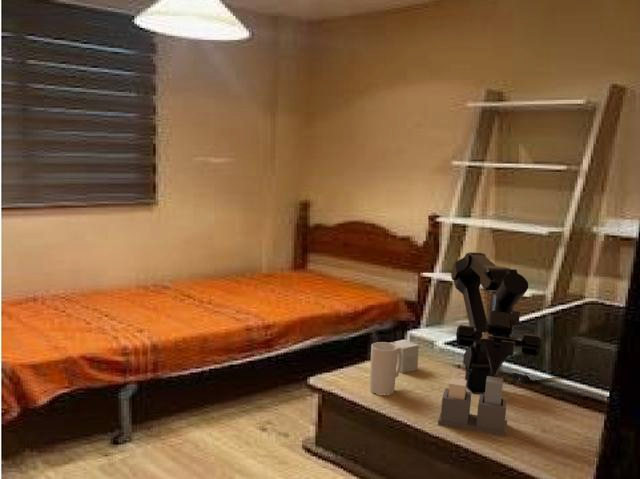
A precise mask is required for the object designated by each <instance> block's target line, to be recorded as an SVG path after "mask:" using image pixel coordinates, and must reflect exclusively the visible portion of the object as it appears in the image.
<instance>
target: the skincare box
mask: <svg viewBox="0 0 640 479" xmlns="http://www.w3.org/2000/svg"><path fill="white" fill-rule="evenodd" d="M389 343H392V344H395V345H397V346H399V347H400V350H401V353H402V364H401V368H400V372H399V373H401V374H405V373H410V372H413V371H417V370H418V368H419V353H420V352H419V348H420V345H419V344H416V343H414V342H412V341H409V340H407V339H400V340H396V341H391V342H389ZM397 364H398V355H397ZM396 367H397V365H396Z"/></svg>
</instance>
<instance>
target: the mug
mask: <svg viewBox="0 0 640 479" xmlns="http://www.w3.org/2000/svg"><path fill="white" fill-rule="evenodd" d="M397 355H398V364H397ZM401 364H402V353H401V350H400V347H399V346H397V345H395V344H392V343H390V342H386V341H380V342H379V341H377V342H374V343H372V344H371V349H370V373H369V374H370V375H369V377H370V378H369V391H370V392H371V393H372V392H373V393H372V394H374V393H376V394H385V395H386V396H389V395H388V394H391V395H393V394H394V393H395V386H396V378H398V377H399V374H400V373H401V372H400V368H401ZM396 365H397V367H396ZM376 394H375V395H376Z"/></svg>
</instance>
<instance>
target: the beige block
mask: <svg viewBox="0 0 640 479" xmlns="http://www.w3.org/2000/svg"><path fill="white" fill-rule="evenodd" d="M466 385H467V380H465V379H460V378H453V377H450V380H449V383H448V389H449V394H448V397H450V398H456V399H462V400H465V397H466V391H467V387H466Z"/></svg>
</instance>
